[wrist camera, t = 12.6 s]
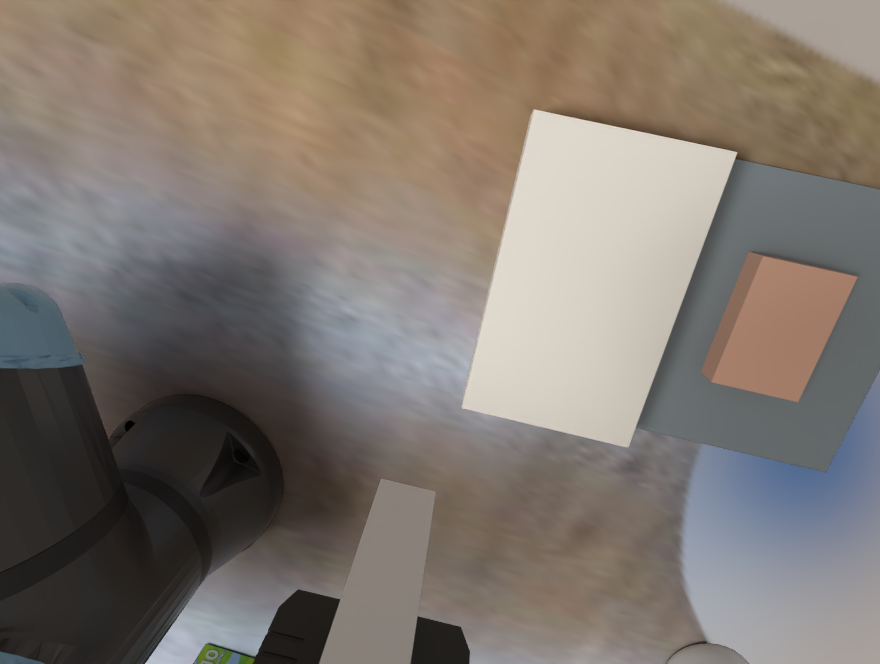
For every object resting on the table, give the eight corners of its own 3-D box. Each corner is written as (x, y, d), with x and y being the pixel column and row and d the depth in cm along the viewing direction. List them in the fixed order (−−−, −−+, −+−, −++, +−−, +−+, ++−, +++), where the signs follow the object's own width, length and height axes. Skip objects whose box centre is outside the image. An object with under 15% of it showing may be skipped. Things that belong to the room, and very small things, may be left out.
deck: (616, 421, 40) (628, 447, 36) (465, 385, 40) (461, 408, 37) (710, 154, 33) (737, 152, 30) (530, 116, 34) (534, 109, 30)
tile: (711, 382, 36) (700, 371, 38) (798, 402, 35) (782, 390, 37) (763, 256, 33) (748, 251, 35) (857, 276, 33) (838, 271, 34)
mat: (823, 470, 39) (825, 472, 39) (616, 421, 40) (617, 423, 39) (960, 206, 33) (964, 207, 32) (710, 154, 33) (712, 154, 33)
